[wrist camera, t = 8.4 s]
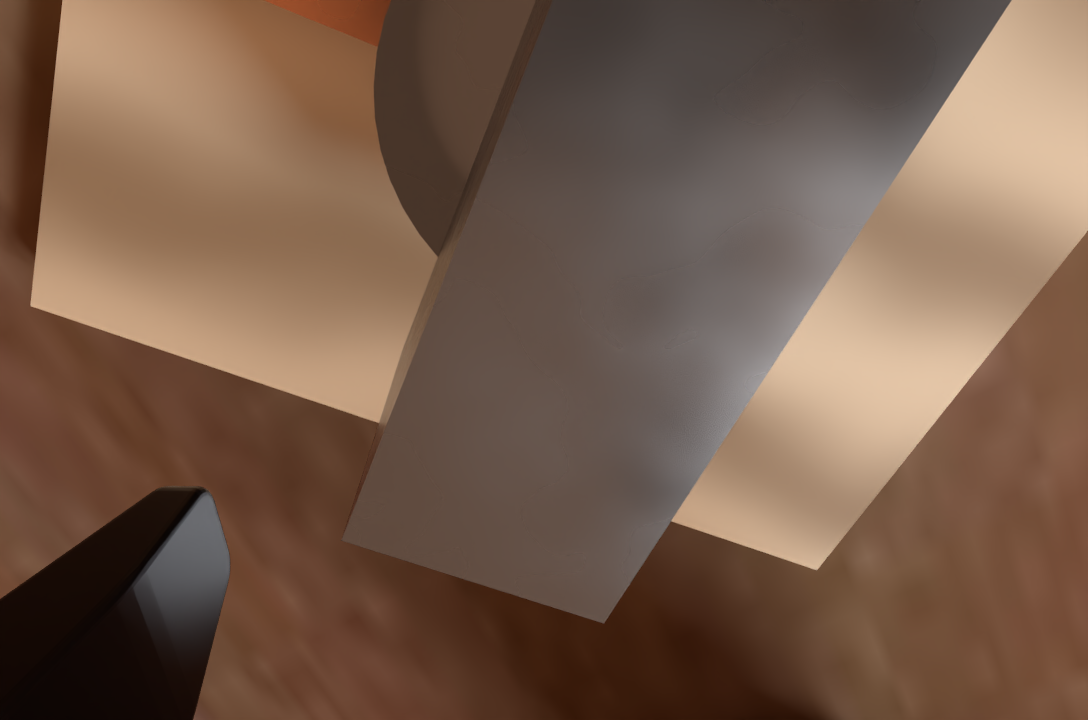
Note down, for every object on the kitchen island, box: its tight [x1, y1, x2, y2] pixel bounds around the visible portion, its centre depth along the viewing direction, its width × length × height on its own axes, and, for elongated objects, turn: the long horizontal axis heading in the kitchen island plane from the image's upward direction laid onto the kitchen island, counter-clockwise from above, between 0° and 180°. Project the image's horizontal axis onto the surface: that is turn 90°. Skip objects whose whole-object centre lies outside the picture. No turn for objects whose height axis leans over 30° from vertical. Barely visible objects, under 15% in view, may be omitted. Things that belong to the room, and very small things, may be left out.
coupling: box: [264, 0, 1012, 623], centre depth 14 cm, size 11×11×8 cm
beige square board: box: [30, 0, 1088, 570], centre depth 18 cm, size 20×20×1 cm
